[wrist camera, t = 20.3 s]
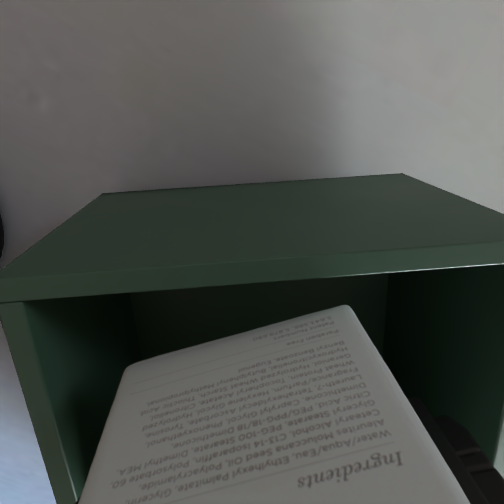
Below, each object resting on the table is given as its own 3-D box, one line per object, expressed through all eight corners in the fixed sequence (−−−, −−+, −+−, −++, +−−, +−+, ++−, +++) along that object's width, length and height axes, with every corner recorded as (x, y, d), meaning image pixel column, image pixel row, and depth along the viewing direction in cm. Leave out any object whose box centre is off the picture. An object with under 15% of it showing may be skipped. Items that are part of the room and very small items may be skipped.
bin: (378, 503, 25) (516, 862, 13) (163, 525, 24) (106, 919, 13) (402, 173, 18) (740, 308, 6) (101, 193, 17) (-151, 382, 6)
